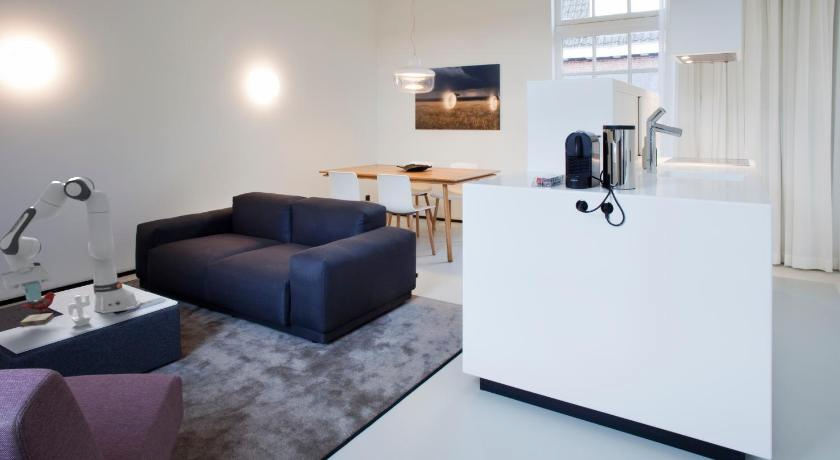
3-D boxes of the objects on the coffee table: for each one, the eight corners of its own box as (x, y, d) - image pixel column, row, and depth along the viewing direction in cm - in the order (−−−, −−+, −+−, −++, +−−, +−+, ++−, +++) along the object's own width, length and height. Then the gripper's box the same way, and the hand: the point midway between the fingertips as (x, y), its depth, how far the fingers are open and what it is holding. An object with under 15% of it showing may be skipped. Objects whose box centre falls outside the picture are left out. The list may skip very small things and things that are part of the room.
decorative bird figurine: (59, 309, 306) (56, 291, 304) (20, 317, 294) (17, 299, 292) (57, 308, 308) (55, 290, 306) (19, 316, 296) (15, 298, 294)
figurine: (69, 325, 279) (64, 296, 277) (90, 320, 286) (86, 292, 283) (72, 328, 274) (68, 299, 272) (94, 323, 281) (90, 294, 278)
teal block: (37, 297, 289) (35, 282, 288) (41, 298, 286) (39, 283, 285) (26, 299, 285) (24, 284, 284) (30, 301, 282) (28, 286, 281)
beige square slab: (53, 316, 294) (53, 312, 294) (45, 323, 284) (45, 319, 283) (30, 318, 292) (29, 315, 291) (20, 325, 281) (20, 322, 281)
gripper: (-1, 270, 278) (10, 292, 274) (45, 261, 295) (56, 282, 291) (-3, 278, 282) (8, 299, 278) (43, 269, 298) (54, 289, 294)
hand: (33, 290), depth 284 cm, fingers closed on teal block, 5 cm apart
